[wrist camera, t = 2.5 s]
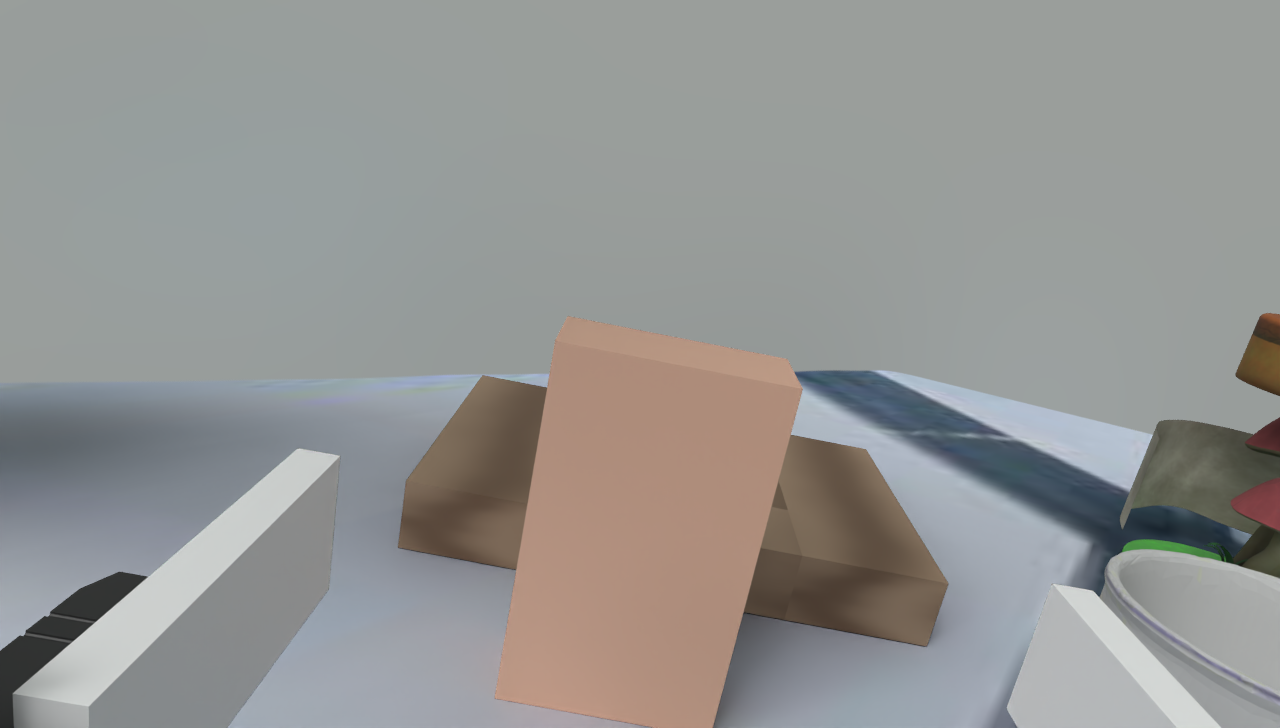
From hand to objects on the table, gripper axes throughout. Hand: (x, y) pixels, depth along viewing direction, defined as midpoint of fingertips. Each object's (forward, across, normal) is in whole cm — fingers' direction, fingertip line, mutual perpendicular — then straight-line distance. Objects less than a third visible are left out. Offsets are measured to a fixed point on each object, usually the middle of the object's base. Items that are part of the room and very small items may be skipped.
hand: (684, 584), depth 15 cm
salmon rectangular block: (+10, 0, -10) cm, 14 cm away
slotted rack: (+23, +2, -10) cm, 25 cm away
